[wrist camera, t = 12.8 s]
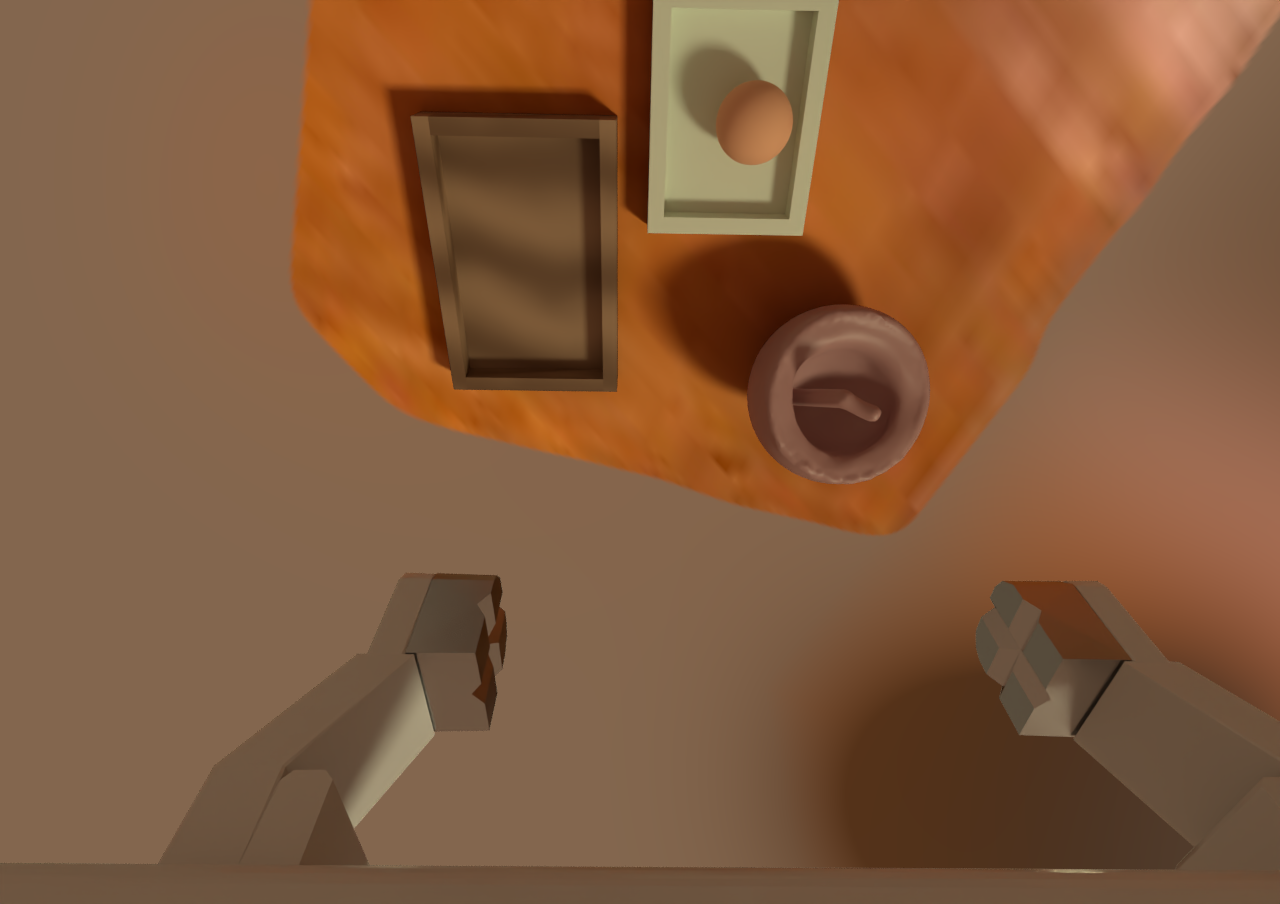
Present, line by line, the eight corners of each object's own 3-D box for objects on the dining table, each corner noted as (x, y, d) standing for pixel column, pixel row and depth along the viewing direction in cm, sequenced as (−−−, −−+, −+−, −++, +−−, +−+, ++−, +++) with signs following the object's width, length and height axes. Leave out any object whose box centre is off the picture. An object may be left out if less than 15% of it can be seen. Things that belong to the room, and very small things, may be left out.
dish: (420, 111, 40) (410, 116, 38) (617, 115, 40) (616, 120, 38) (460, 375, 50) (453, 389, 48) (617, 377, 50) (616, 391, 48)
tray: (653, -14, 36) (653, -16, 35) (831, -10, 36) (840, -12, 35) (647, 224, 44) (647, 232, 42) (796, 227, 44) (802, 235, 42)
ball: (699, 160, 40) (739, 174, 36) (704, 77, 37) (748, 84, 34) (758, 156, 41) (802, 168, 38) (767, 76, 39) (814, 82, 36)
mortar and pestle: (931, 316, 47) (1005, 392, 38) (840, 444, 53) (885, 536, 44) (787, 252, 45) (828, 316, 35) (709, 394, 51) (726, 481, 41)
